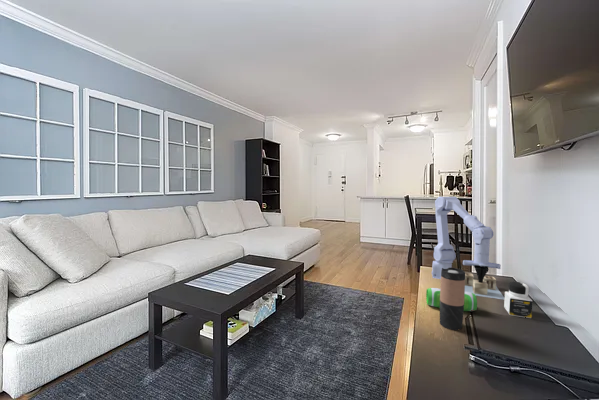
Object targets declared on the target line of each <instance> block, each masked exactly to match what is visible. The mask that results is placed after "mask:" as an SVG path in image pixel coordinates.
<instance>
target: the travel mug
mask: <svg viewBox="0 0 599 400" xmlns="http://www.w3.org/2000/svg"><path fill="white" fill-rule="evenodd" d="M465 273H466V271H465V270H462V269H460V268H455V267H452V268H448V269H443V268H442V270H441V279H440V288H439V289H440V308H439V324H440V326H442V327H443V328H445V329H448V330H452V331H459V330H458V329H460V330H462V329H463V321H464V312H465V311H464V294H465ZM461 328H462V329H461Z"/></svg>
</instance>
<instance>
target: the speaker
mask: <svg viewBox="0 0 599 400" xmlns="http://www.w3.org/2000/svg"><path fill="white" fill-rule="evenodd" d="M425 296H426V297H425V298H426V299H425V300H426V305H428V306H431V307H435V308H439V309H440V288H437V287H428V288H426V293H425ZM477 308H478V299H477V296H476V295H475V294H473V293H470V292H465V294H464V312H472V311H471V310H476V311H477Z"/></svg>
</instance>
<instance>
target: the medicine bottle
mask: <svg viewBox="0 0 599 400" xmlns="http://www.w3.org/2000/svg"><path fill="white" fill-rule="evenodd" d="M508 284H509V285H508V291H504V298H505V299H504V301H503V302H504V304H503V308H504V309H505V310H506V312H507V314H508V315H509V316H512V317H520V318H525V317H526V318H525V319H532V317H533V300H532V299H531V297H529V288H530V287H529V285H527V284H525V283H524V282H519V281H511V282H509V283H508Z"/></svg>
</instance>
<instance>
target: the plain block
mask: <svg viewBox="0 0 599 400" xmlns="http://www.w3.org/2000/svg"><path fill="white" fill-rule="evenodd" d="M487 290H488V284H487V282H486V281H483V282H482V283H480V282H478V279H475V278H474V279H473V292H474V293H475V294H482V295H487Z"/></svg>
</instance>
